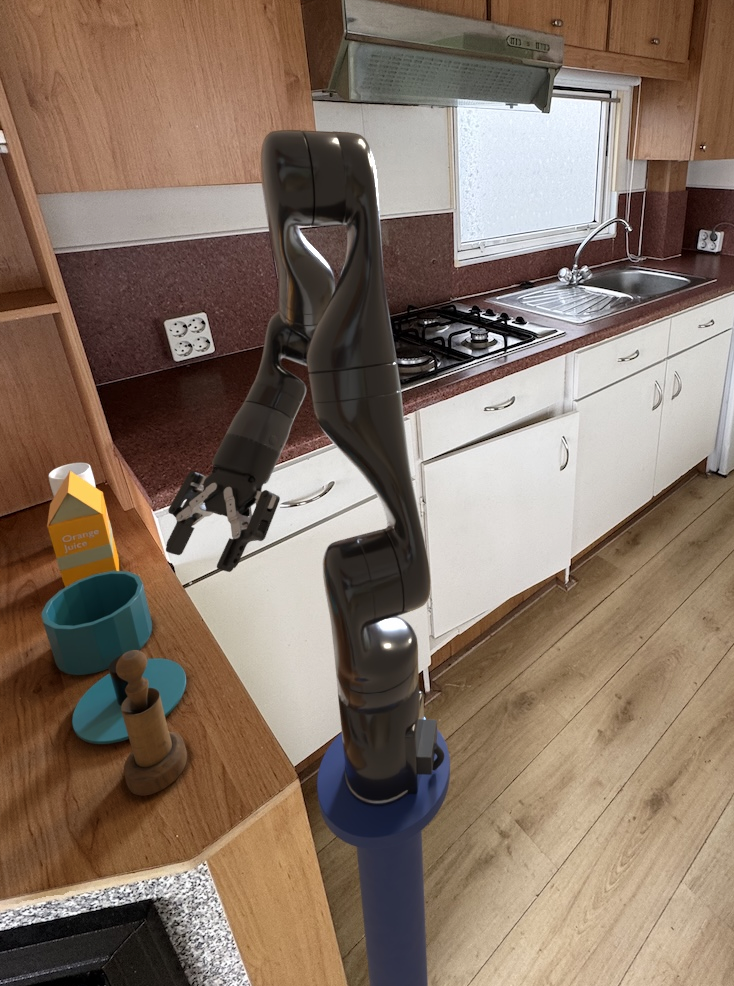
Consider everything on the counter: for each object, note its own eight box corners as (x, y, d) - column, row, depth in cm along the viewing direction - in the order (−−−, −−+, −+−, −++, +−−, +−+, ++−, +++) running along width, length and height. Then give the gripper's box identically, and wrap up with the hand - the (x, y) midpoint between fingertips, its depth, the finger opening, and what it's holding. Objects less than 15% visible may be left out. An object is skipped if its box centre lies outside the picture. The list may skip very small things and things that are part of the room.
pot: (140, 602, 99) (131, 560, 96) (161, 644, 90) (151, 600, 87) (49, 640, 90) (36, 595, 88) (63, 690, 82) (48, 643, 79)
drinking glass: (69, 551, 111) (50, 483, 106) (63, 535, 116) (45, 469, 111) (110, 537, 115) (93, 471, 110) (103, 523, 120) (87, 458, 115)
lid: (171, 649, 89) (163, 612, 87) (200, 705, 80) (191, 665, 78) (66, 699, 80) (53, 659, 78) (84, 768, 71) (71, 726, 69)
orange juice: (119, 557, 110) (96, 464, 103) (120, 584, 103) (96, 485, 96) (68, 572, 106) (41, 475, 99) (66, 600, 99) (37, 498, 92)
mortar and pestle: (134, 752, 73) (104, 640, 67) (191, 737, 75) (167, 627, 69) (120, 803, 67) (87, 685, 61) (182, 786, 69) (156, 670, 63)
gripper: (311, 461, 79) (259, 581, 73) (232, 443, 84) (177, 553, 78) (279, 442, 73) (220, 571, 67) (196, 423, 78) (133, 542, 72)
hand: (197, 561), depth 72 cm, fingers open, 8 cm apart
